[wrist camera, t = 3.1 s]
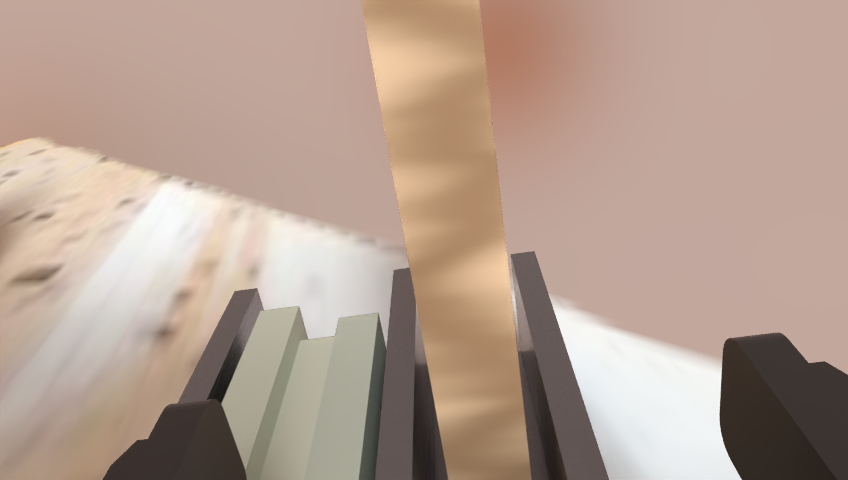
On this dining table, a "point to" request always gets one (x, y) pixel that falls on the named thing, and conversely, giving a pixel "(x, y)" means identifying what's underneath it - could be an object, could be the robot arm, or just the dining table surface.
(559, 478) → the sheet rack
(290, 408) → the pale green grooved block
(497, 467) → the oak block
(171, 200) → the dining table surface
